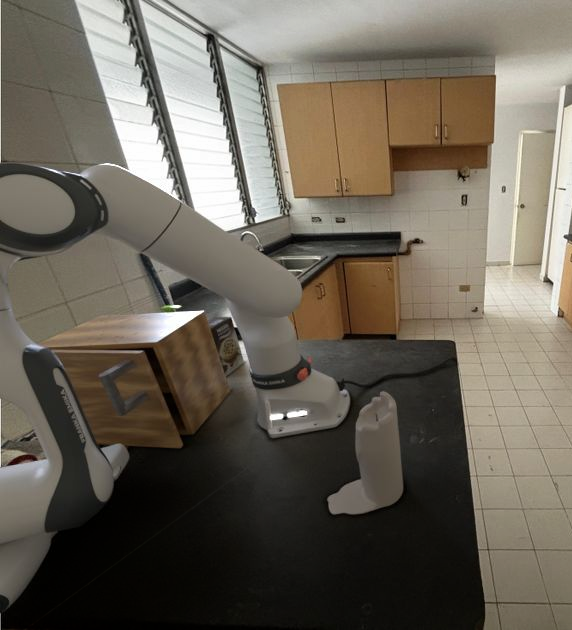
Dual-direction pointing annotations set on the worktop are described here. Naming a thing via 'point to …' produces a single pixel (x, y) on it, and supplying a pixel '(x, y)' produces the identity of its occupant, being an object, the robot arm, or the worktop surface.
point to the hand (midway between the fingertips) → (71, 450)
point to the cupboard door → (120, 397)
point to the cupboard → (162, 357)
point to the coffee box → (226, 343)
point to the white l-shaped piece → (373, 461)
